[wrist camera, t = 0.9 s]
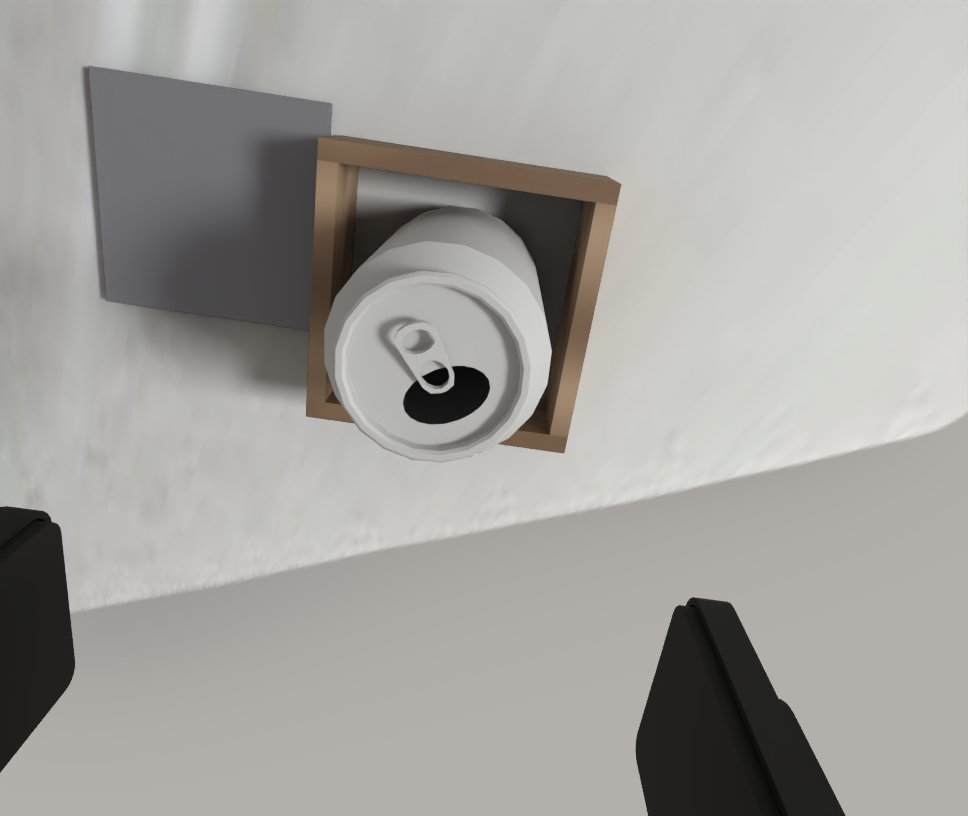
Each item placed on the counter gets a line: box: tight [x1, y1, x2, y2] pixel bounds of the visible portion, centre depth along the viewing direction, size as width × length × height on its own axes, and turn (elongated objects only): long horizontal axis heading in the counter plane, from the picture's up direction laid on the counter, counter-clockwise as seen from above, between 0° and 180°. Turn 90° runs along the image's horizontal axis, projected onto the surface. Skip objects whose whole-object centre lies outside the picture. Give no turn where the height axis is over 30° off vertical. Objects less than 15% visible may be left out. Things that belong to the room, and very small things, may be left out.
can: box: [324, 206, 552, 462], centre depth 26 cm, size 8×8×12 cm
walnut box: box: [306, 136, 621, 453], centre depth 30 cm, size 12×12×4 cm
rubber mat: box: [89, 66, 332, 331], centre depth 30 cm, size 10×10×1 cm
